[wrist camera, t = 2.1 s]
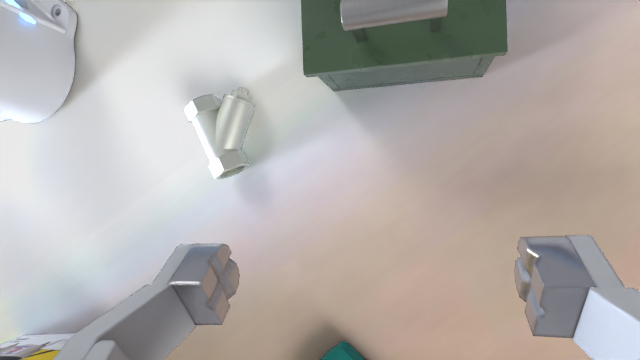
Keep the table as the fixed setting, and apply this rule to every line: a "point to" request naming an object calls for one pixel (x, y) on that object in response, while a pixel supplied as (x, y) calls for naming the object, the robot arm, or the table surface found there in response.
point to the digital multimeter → (342, 353)
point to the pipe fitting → (223, 129)
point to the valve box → (408, 74)
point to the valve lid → (398, 33)
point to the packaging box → (34, 347)
